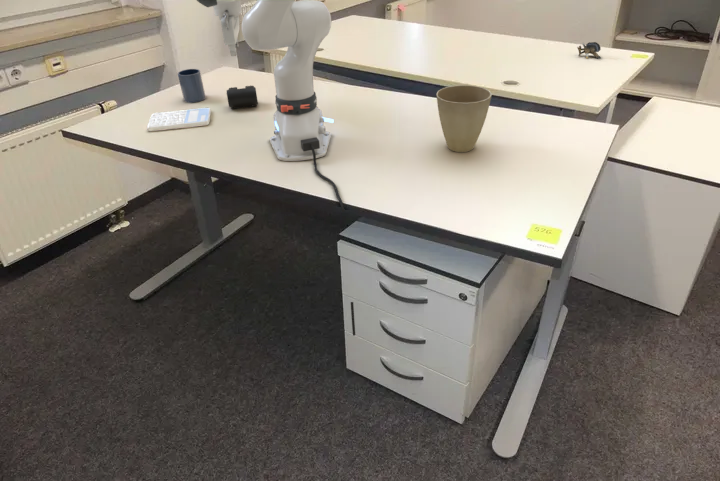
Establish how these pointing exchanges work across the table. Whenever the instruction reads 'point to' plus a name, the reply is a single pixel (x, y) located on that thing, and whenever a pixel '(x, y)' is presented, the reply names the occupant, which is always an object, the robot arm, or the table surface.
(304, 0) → the robot arm
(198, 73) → the pen cup
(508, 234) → the table surface
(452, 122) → the plant pot
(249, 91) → the end cap
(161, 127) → the calculator
